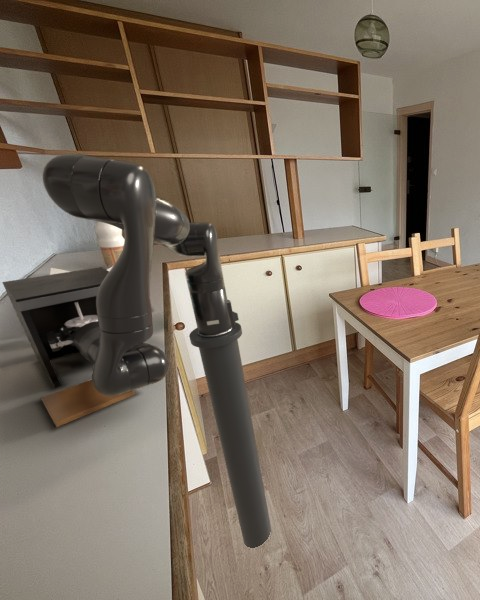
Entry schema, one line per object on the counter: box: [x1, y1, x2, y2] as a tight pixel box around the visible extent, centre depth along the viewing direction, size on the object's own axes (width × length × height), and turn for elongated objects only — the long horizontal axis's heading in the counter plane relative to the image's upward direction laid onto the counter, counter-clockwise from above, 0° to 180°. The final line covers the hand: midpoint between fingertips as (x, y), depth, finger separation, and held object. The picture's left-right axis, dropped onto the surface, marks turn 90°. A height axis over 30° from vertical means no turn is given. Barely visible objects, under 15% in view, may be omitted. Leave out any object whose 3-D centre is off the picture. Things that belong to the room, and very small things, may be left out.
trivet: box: [40, 379, 136, 428], centre depth 66 cm, size 12×12×1 cm
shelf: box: [2, 266, 109, 389], centre depth 76 cm, size 17×17×21 cm
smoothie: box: [64, 302, 98, 361], centre depth 74 cm, size 6×6×14 cm
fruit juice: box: [94, 221, 125, 270], centre depth 144 cm, size 9×9×28 cm
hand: (82, 322), depth 74 cm, fingers closed on smoothie, 6 cm apart
